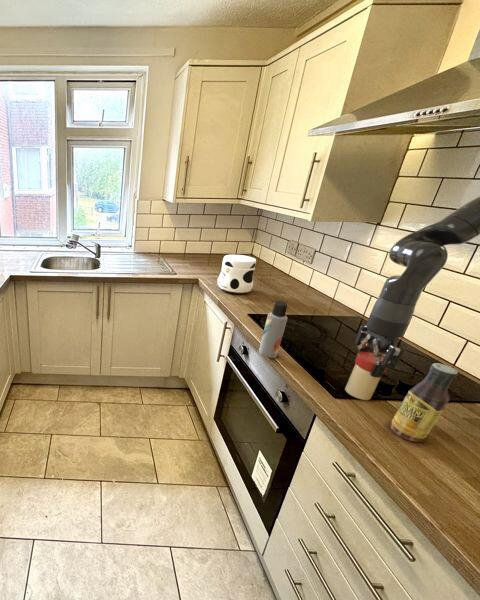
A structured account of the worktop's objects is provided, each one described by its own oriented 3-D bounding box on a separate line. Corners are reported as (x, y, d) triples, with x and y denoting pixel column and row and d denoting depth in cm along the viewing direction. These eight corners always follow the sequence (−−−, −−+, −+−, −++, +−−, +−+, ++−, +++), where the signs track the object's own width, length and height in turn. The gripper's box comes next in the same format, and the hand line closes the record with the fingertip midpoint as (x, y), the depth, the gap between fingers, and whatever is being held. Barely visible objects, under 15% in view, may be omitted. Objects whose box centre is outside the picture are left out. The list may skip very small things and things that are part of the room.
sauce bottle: (382, 424, 81) (414, 358, 73) (407, 424, 81) (441, 358, 73) (405, 444, 75) (443, 375, 67) (432, 445, 74) (473, 375, 67)
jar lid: (374, 375, 84) (378, 366, 83) (348, 361, 90) (352, 353, 89) (391, 371, 86) (395, 362, 85) (365, 358, 92) (368, 350, 91)
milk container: (209, 286, 176) (214, 255, 169) (234, 283, 181) (240, 253, 174) (232, 297, 161) (239, 263, 154) (258, 294, 166) (266, 261, 159)
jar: (358, 386, 95) (373, 354, 90) (376, 400, 89) (392, 367, 85) (339, 386, 95) (353, 354, 90) (356, 400, 89) (371, 367, 85)
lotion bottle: (279, 355, 111) (294, 302, 103) (271, 360, 108) (286, 306, 100) (263, 348, 115) (276, 297, 107) (255, 352, 112) (268, 301, 105)
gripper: (428, 329, 75) (400, 386, 81) (388, 306, 88) (366, 357, 94) (392, 326, 77) (367, 382, 83) (357, 303, 90) (338, 353, 96)
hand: (366, 368), depth 89 cm, fingers closed on jar lid, 6 cm apart
